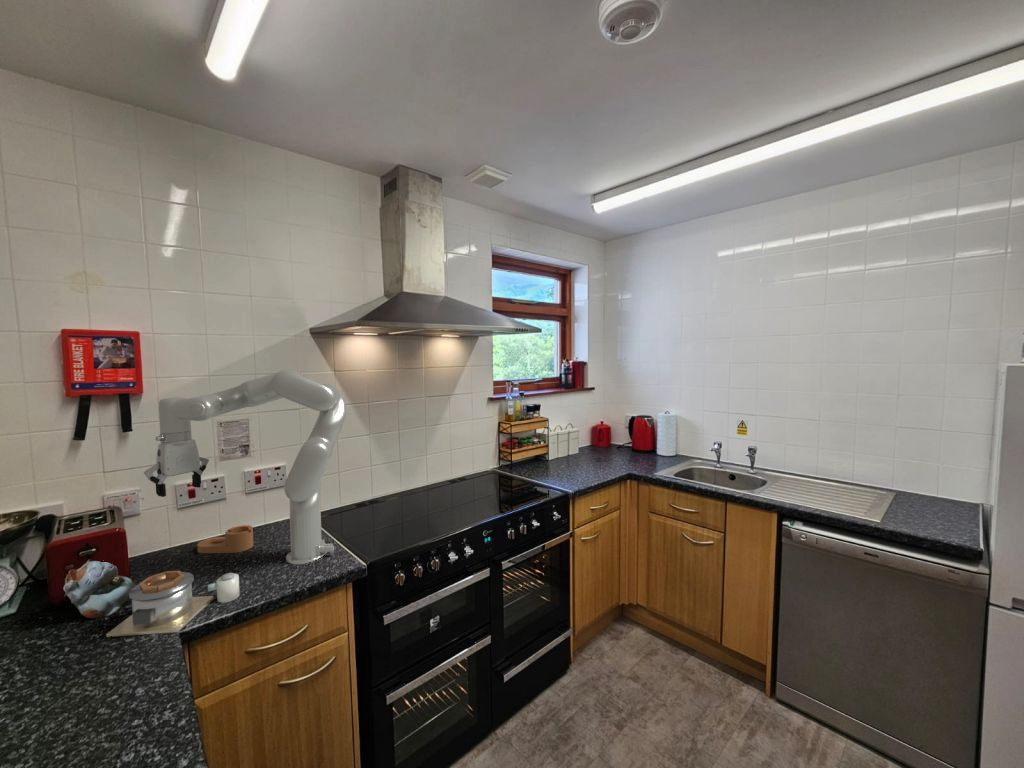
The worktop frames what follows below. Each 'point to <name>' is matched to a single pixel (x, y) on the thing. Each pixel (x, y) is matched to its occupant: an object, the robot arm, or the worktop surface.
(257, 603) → the worktop surface
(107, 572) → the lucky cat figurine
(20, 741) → the worktop surface
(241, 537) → the brown rounded piece
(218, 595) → the drain pump
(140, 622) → the cylinder on square plate
